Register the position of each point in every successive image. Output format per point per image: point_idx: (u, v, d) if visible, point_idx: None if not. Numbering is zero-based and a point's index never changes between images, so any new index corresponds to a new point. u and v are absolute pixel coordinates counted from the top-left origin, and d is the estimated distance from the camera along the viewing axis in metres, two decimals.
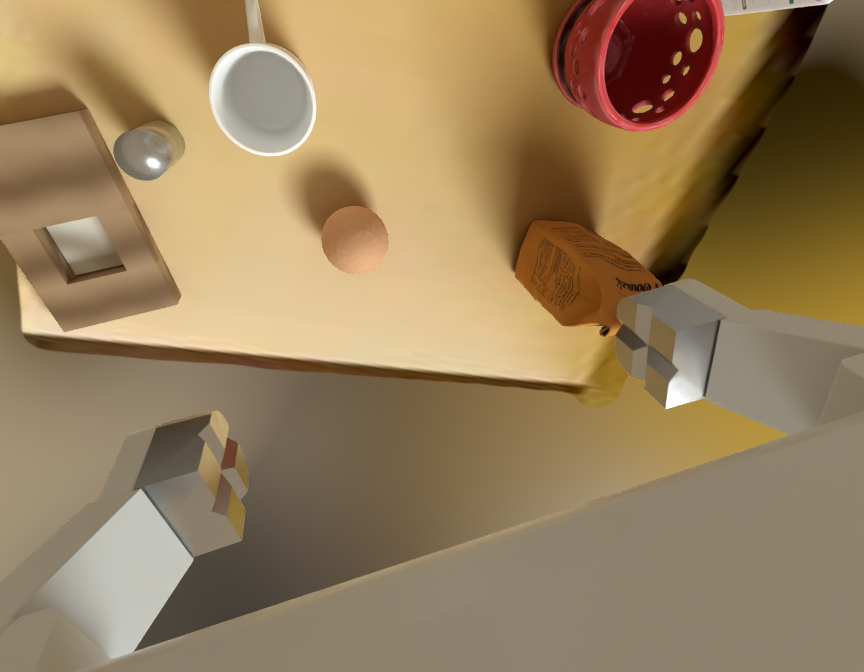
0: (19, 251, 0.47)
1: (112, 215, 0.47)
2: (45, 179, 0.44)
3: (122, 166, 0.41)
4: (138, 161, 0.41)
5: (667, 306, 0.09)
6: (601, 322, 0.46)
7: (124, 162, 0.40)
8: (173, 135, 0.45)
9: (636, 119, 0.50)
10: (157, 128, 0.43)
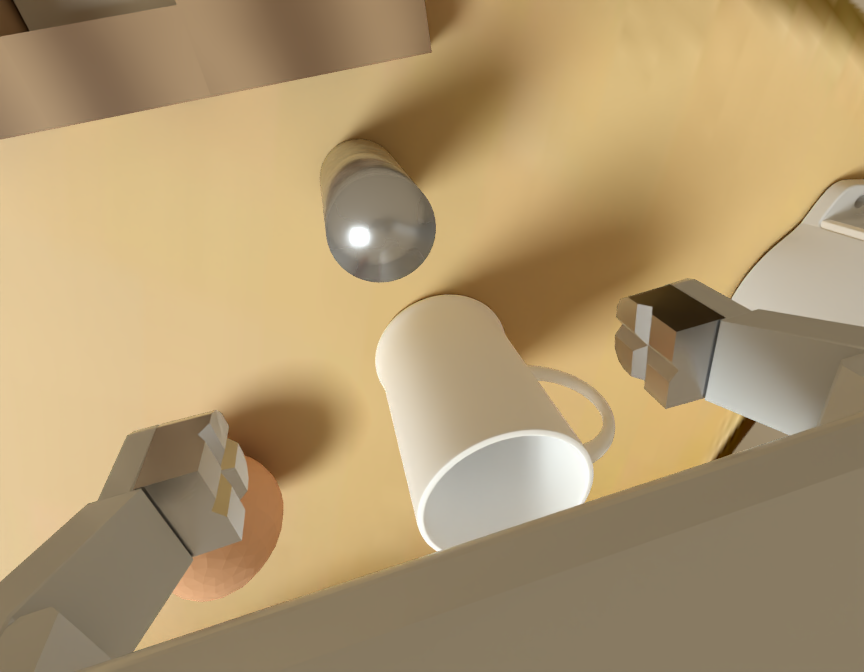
0: None
1: (186, 51, 0.18)
2: None
3: (358, 187, 0.16)
4: (369, 224, 0.17)
5: (667, 306, 0.09)
6: None
7: (368, 194, 0.16)
8: None
9: None
10: None
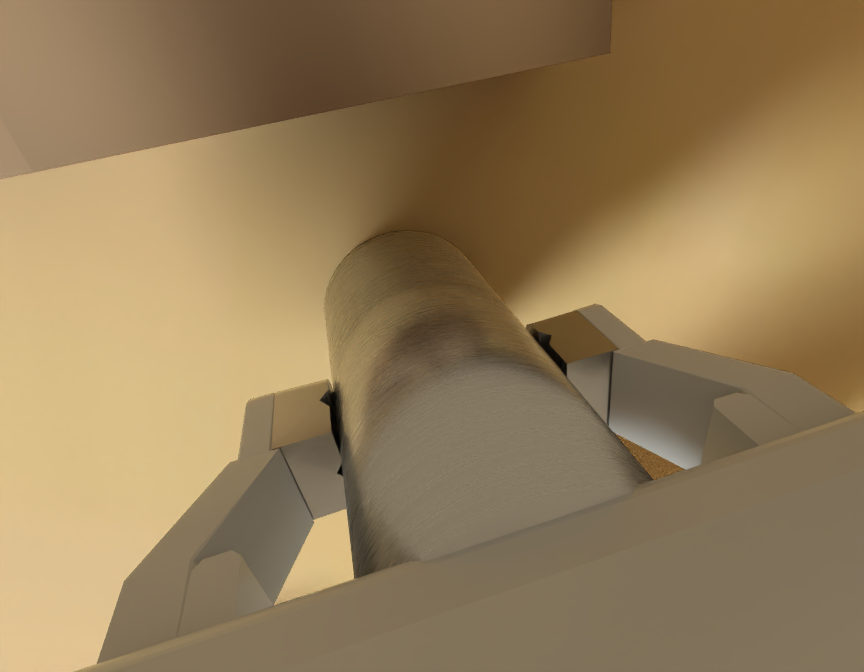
0: None
1: None
2: None
3: (486, 539, 0.04)
4: None
5: (566, 335, 0.08)
6: None
7: None
8: None
9: None
10: None
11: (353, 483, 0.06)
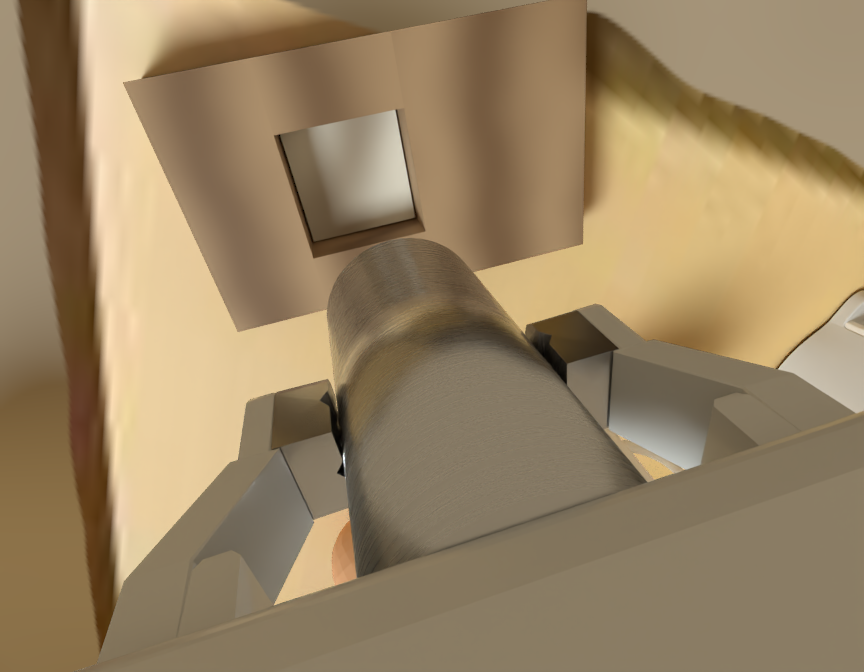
0: (356, 60, 0.20)
1: None
2: (495, 166, 0.24)
3: (483, 534, 0.05)
4: None
5: (566, 335, 0.08)
6: None
7: None
8: None
9: None
10: None
11: (356, 483, 0.06)
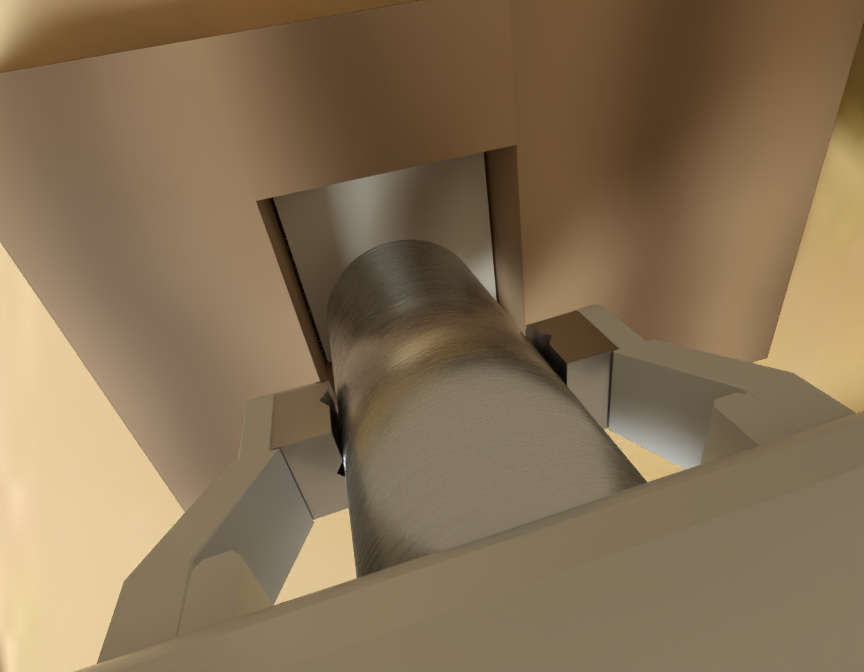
0: (432, 49, 0.10)
1: None
2: (661, 245, 0.13)
3: None
4: None
5: (566, 335, 0.08)
6: None
7: None
8: None
9: None
10: None
11: (356, 487, 0.06)
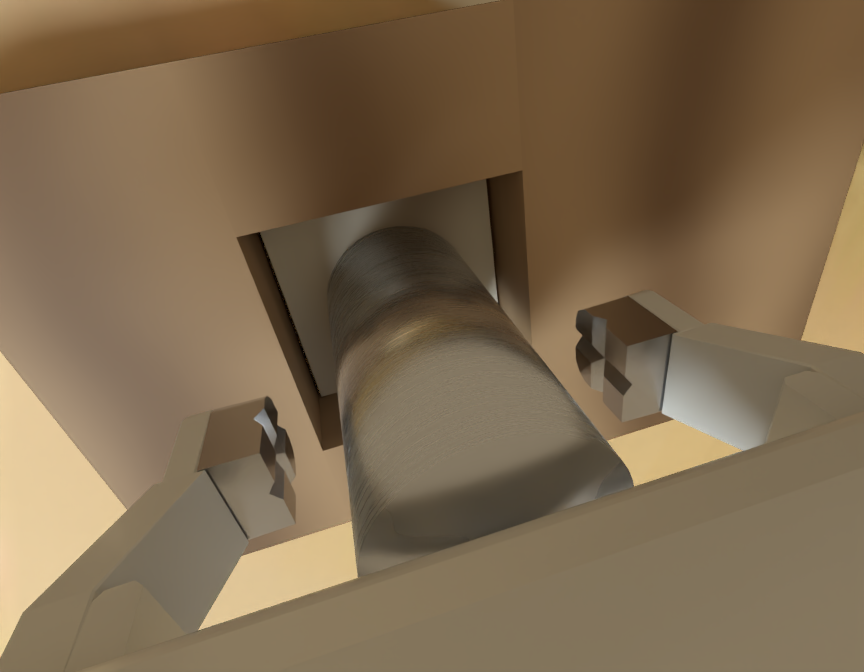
0: (428, 69, 0.09)
1: None
2: (677, 272, 0.12)
3: (456, 471, 0.06)
4: (474, 537, 0.06)
5: (622, 319, 0.09)
6: None
7: (480, 482, 0.06)
8: None
9: None
10: None
11: (351, 438, 0.07)
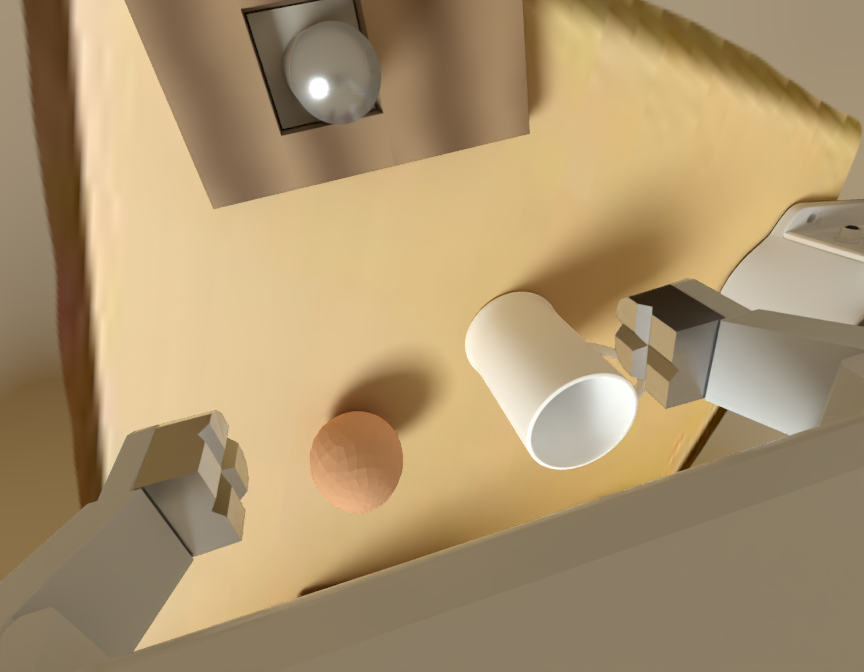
0: None
1: (384, 139, 0.28)
2: (444, 49, 0.27)
3: (316, 30, 0.20)
4: (326, 67, 0.21)
5: (667, 306, 0.09)
6: None
7: (324, 38, 0.20)
8: None
9: None
10: None
11: (289, 54, 0.21)
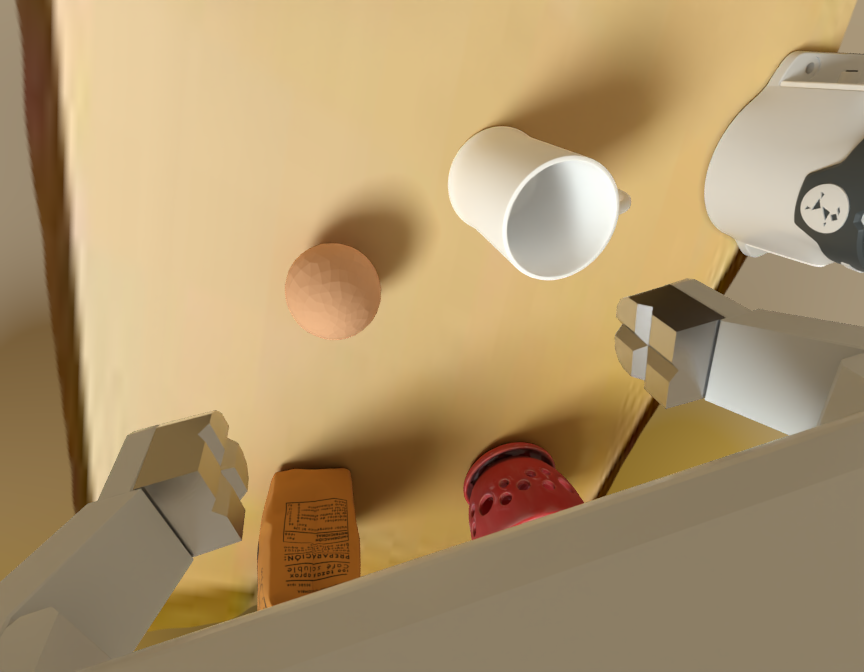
0: None
1: None
2: None
3: None
4: None
5: (667, 306, 0.09)
6: None
7: None
8: None
9: None
10: None
11: None
